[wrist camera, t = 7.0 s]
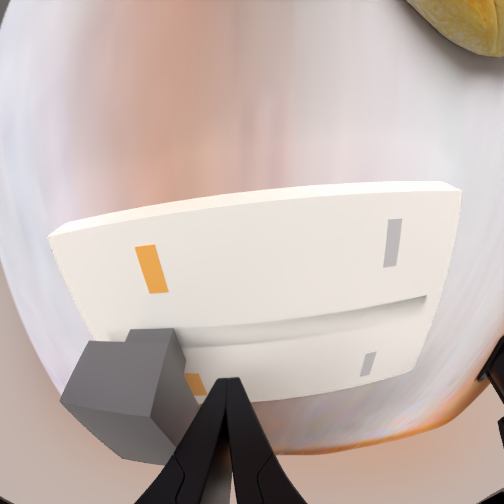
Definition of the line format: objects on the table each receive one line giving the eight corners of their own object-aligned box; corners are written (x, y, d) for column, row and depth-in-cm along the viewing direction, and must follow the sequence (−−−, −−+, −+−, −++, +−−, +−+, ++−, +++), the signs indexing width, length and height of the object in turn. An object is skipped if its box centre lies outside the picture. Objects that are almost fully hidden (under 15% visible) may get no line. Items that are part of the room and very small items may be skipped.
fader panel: (403, 354, 15) (412, 371, 13) (140, 383, 15) (134, 401, 14) (442, 181, 10) (463, 191, 8) (65, 223, 10) (46, 236, 9)
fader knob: (205, 375, 12) (196, 468, 7) (144, 375, 12) (122, 458, 8) (179, 303, 10) (149, 416, 5) (107, 307, 10) (59, 401, 6)
